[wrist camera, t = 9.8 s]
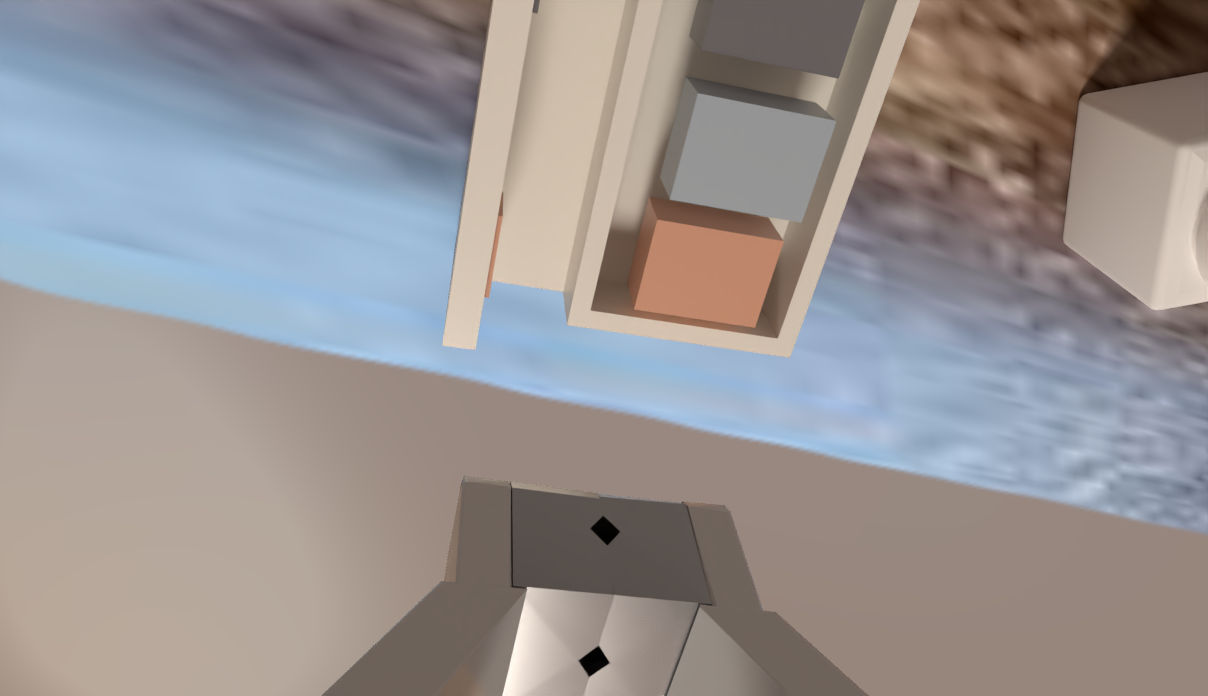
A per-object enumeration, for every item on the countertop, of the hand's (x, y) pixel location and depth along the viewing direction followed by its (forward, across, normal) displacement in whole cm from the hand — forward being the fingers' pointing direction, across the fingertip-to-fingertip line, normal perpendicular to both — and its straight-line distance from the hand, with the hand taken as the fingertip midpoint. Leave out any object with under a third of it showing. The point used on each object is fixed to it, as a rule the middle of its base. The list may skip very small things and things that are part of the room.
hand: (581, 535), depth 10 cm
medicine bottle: (+29, -28, 0) cm, 41 cm away
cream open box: (+29, -6, +1) cm, 30 cm away
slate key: (+25, -8, +1) cm, 26 cm away
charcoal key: (+26, -8, -3) cm, 27 cm away
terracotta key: (+26, -8, +6) cm, 28 cm away
